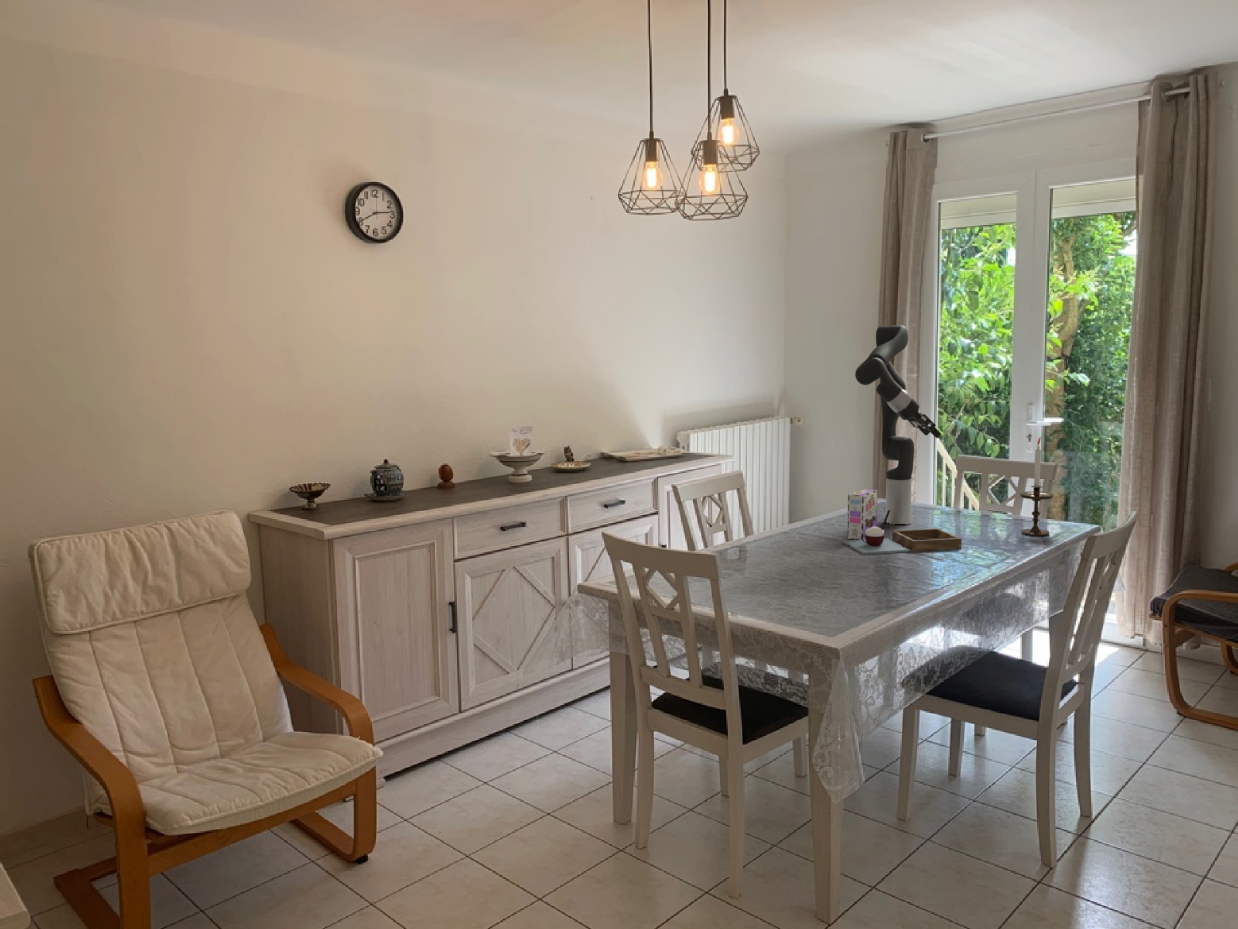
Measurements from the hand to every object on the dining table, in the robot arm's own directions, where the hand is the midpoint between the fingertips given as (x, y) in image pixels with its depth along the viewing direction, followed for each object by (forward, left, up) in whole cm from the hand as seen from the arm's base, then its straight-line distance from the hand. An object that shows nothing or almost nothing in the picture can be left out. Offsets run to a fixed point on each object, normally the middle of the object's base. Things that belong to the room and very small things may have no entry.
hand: (933, 434), depth 325 cm
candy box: (-6, -23, -37) cm, 44 cm away
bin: (+11, -7, -37) cm, 39 cm away
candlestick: (+4, +37, -37) cm, 52 cm away
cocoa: (+11, -25, -36) cm, 45 cm away
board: (+11, -25, -36) cm, 46 cm away
